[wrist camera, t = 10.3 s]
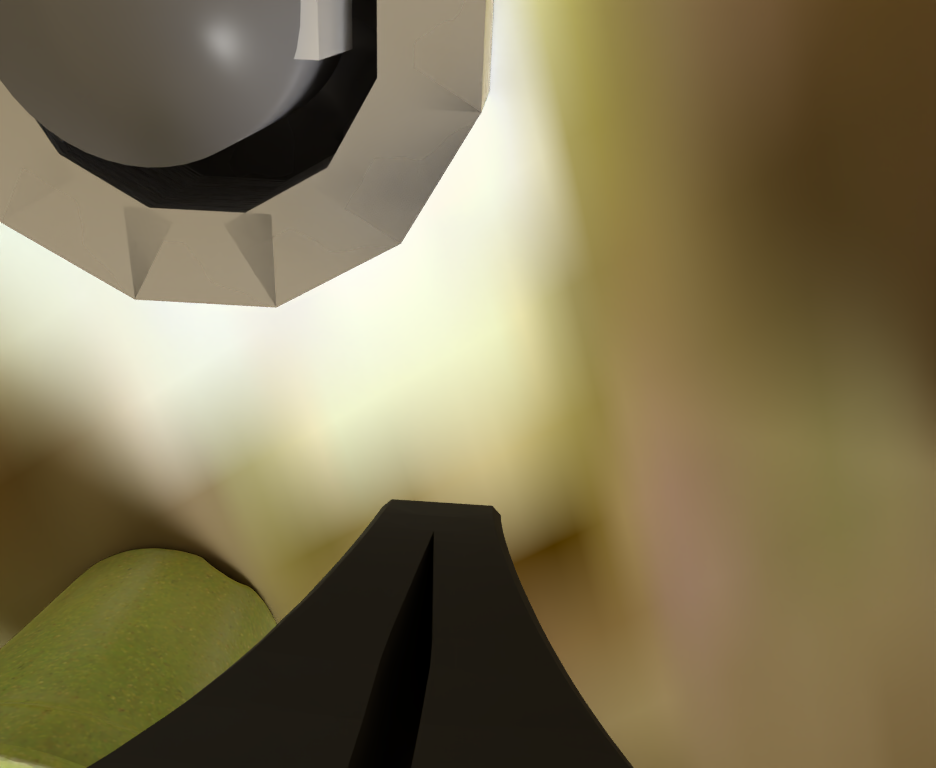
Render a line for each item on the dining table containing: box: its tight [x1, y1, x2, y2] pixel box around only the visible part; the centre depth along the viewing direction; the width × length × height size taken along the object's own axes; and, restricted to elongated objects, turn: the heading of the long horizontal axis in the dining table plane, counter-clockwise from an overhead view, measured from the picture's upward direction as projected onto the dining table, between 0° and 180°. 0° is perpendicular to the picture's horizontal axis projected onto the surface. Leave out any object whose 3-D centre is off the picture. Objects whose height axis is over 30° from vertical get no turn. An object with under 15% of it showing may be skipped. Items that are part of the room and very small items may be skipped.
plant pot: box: [0, 548, 276, 768], centre depth 20 cm, size 9×9×9 cm
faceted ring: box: [0, 0, 494, 307], centre depth 16 cm, size 10×10×4 cm
